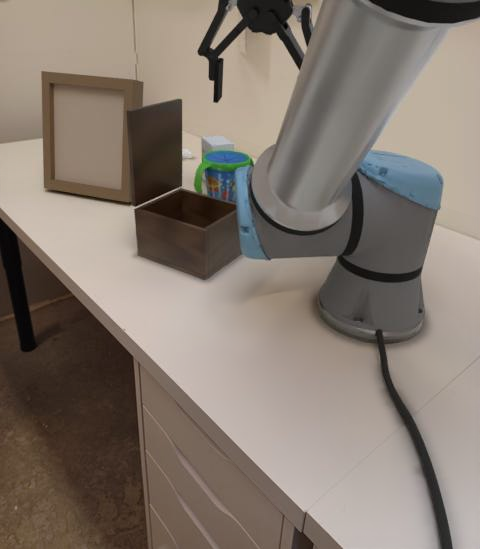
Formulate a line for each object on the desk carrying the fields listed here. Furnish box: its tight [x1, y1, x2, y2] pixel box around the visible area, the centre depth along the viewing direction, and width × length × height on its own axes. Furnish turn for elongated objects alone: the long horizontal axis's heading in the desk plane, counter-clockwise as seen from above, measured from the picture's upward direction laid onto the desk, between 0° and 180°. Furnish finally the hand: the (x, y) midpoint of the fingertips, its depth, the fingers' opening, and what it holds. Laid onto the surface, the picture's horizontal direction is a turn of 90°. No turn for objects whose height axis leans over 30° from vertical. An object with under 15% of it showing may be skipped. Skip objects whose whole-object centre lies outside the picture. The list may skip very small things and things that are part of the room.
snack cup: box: [193, 150, 255, 203], centre depth 104 cm, size 16×10×10 cm
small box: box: [200, 135, 235, 183], centre depth 114 cm, size 8×6×10 cm
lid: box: [126, 98, 183, 208], centre depth 80 cm, size 16×13×1 cm
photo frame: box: [40, 70, 145, 203], centre depth 105 cm, size 15×22×25 cm
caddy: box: [133, 187, 243, 281], centre depth 83 cm, size 15×13×9 cm
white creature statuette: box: [182, 148, 193, 160], centre depth 129 cm, size 10×9×12 cm
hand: (255, 106), depth 81 cm, fingers open, 13 cm apart
